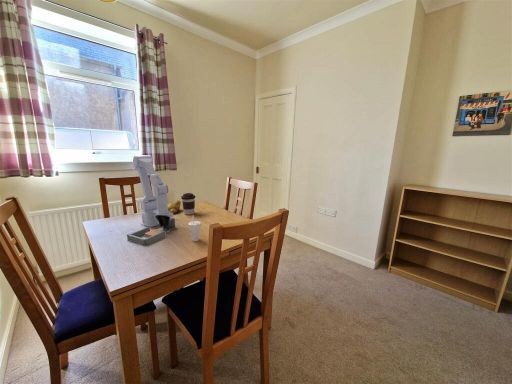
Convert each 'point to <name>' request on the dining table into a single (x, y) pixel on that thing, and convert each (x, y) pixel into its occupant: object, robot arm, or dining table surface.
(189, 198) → the coffee cup
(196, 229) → the smoothie
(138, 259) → the dining table surface
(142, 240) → the frame
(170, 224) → the turner
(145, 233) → the tile
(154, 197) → the robot arm
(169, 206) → the bread roll
